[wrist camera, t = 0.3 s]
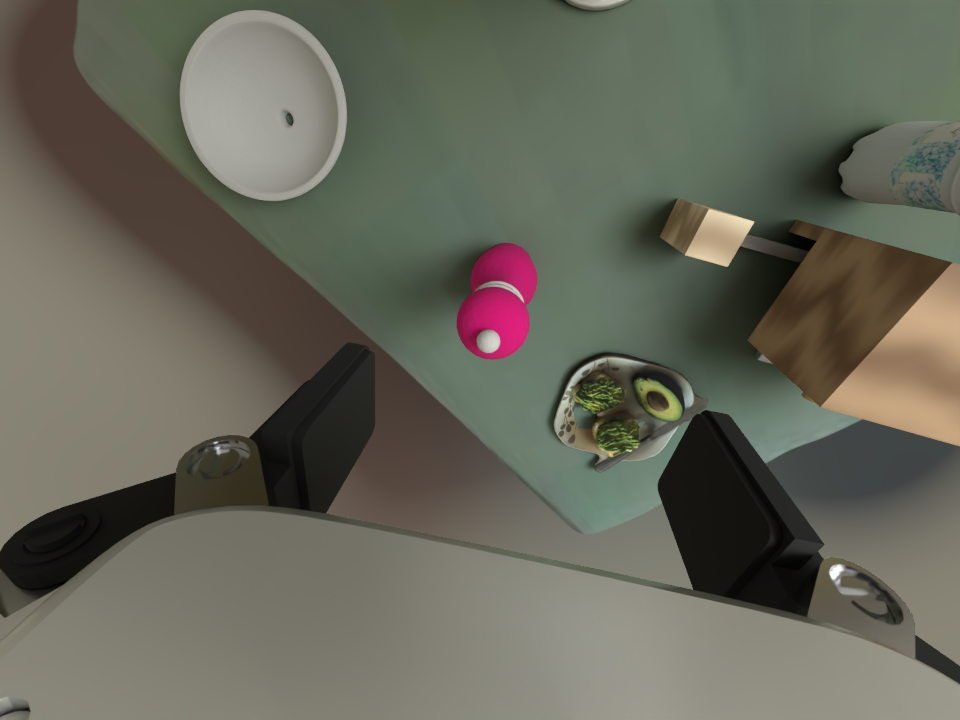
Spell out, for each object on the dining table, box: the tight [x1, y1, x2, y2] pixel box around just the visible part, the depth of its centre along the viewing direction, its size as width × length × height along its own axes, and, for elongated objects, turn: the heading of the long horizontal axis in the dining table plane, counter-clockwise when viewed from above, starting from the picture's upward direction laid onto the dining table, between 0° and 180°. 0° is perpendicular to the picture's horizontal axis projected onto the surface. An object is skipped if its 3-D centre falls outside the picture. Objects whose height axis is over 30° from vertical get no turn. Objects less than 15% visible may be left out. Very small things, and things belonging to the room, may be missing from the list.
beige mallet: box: [660, 198, 809, 267], centre depth 36 cm, size 4×23×8 cm, turn 76°
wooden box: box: [747, 220, 960, 446], centre depth 34 cm, size 13×14×16 cm
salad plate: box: [554, 353, 708, 473], centre depth 51 cm, size 19×18×5 cm
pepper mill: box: [457, 243, 537, 359], centre depth 36 cm, size 7×7×20 cm
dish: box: [180, 10, 347, 201], centre depth 37 cm, size 18×14×5 cm
